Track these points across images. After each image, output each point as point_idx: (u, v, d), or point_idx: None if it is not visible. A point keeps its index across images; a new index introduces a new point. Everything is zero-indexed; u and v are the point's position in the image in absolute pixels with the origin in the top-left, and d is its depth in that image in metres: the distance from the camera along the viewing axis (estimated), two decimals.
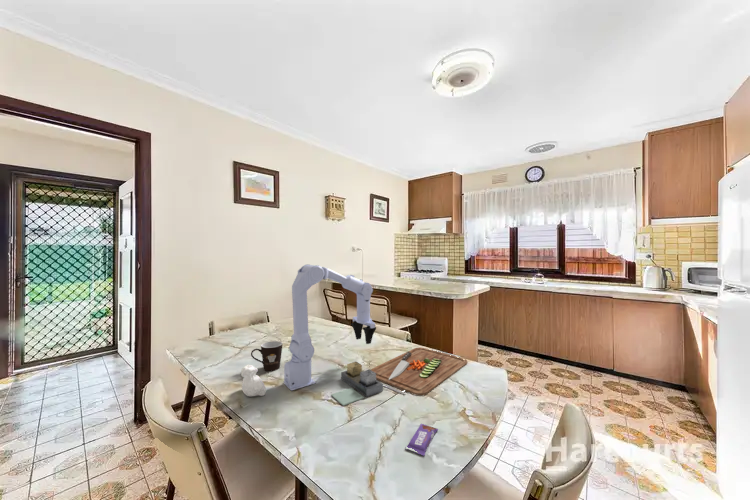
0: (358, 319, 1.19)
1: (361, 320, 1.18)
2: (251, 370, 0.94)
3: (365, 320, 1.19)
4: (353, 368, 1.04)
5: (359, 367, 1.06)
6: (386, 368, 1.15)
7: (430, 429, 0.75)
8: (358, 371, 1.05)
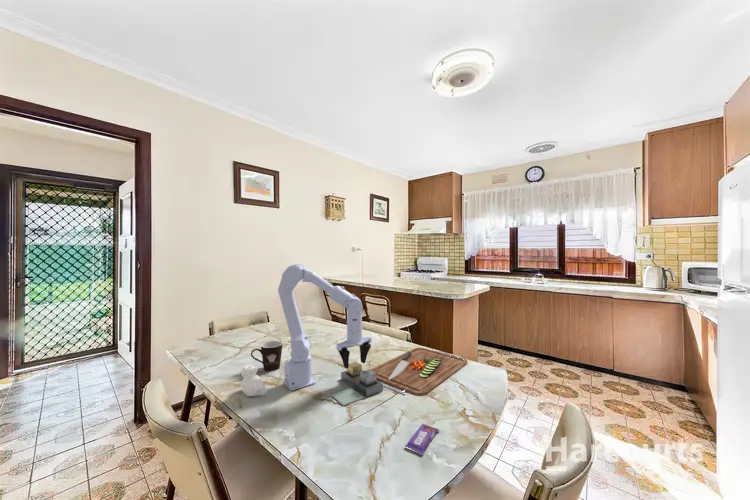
0: None
1: None
2: (251, 370, 0.94)
3: (347, 340, 1.06)
4: (353, 368, 1.04)
5: (359, 367, 1.06)
6: (386, 368, 1.15)
7: (431, 429, 0.75)
8: (358, 371, 1.05)
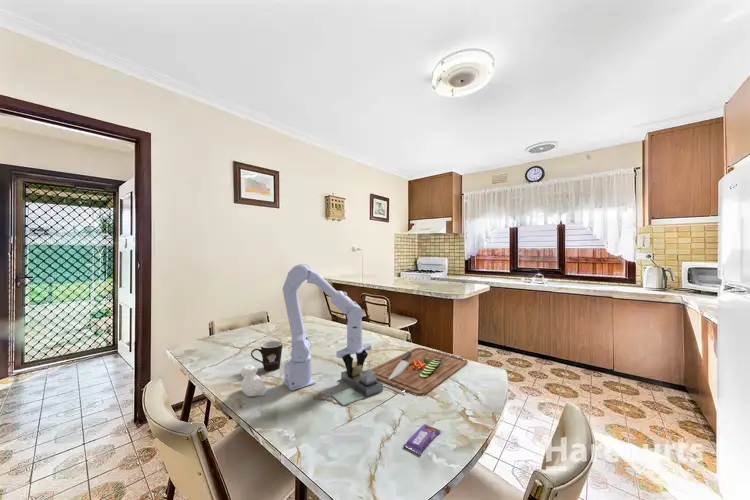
0: None
1: None
2: (251, 370, 0.94)
3: (347, 348, 1.06)
4: (353, 368, 1.04)
5: (359, 367, 1.06)
6: (386, 368, 1.15)
7: (432, 430, 0.75)
8: (358, 371, 1.05)
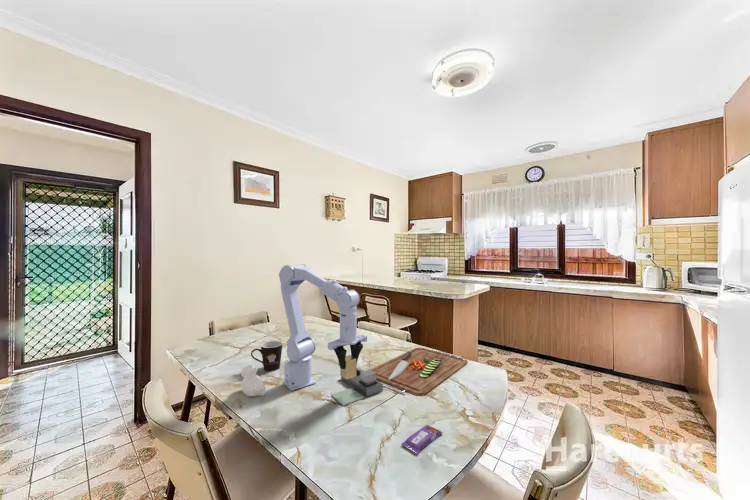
0: None
1: None
2: (251, 370, 0.94)
3: (339, 339, 0.94)
4: (346, 362, 0.93)
5: (353, 361, 0.94)
6: (386, 368, 1.15)
7: (433, 431, 0.74)
8: (352, 365, 0.94)
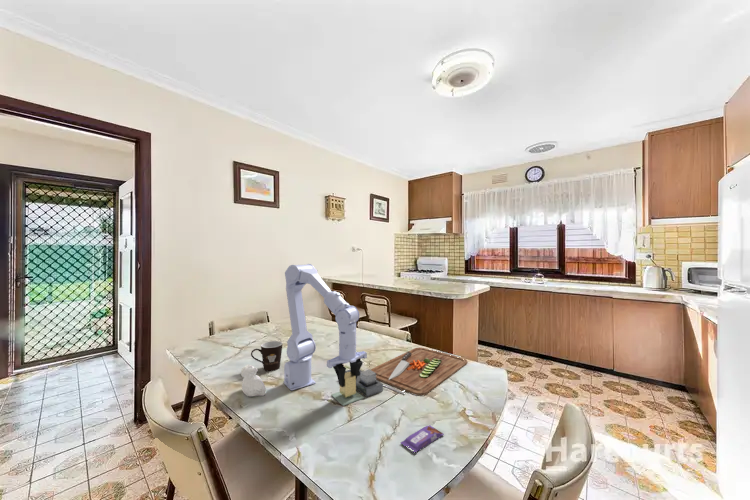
0: None
1: None
2: (251, 370, 0.94)
3: (339, 356, 0.93)
4: (346, 380, 0.92)
5: (353, 378, 0.93)
6: (386, 368, 1.15)
7: (433, 432, 0.74)
8: (351, 383, 0.93)
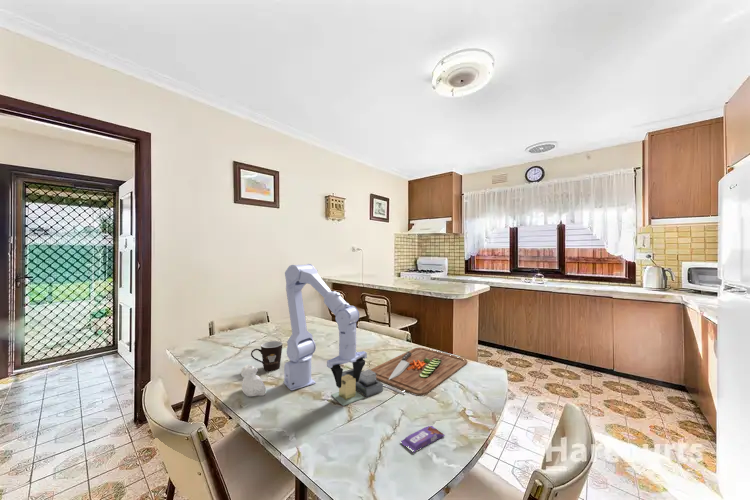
0: None
1: None
2: (251, 370, 0.94)
3: (339, 356, 0.93)
4: (346, 382, 0.92)
5: (353, 381, 0.93)
6: (386, 368, 1.15)
7: (434, 432, 0.74)
8: (351, 385, 0.93)
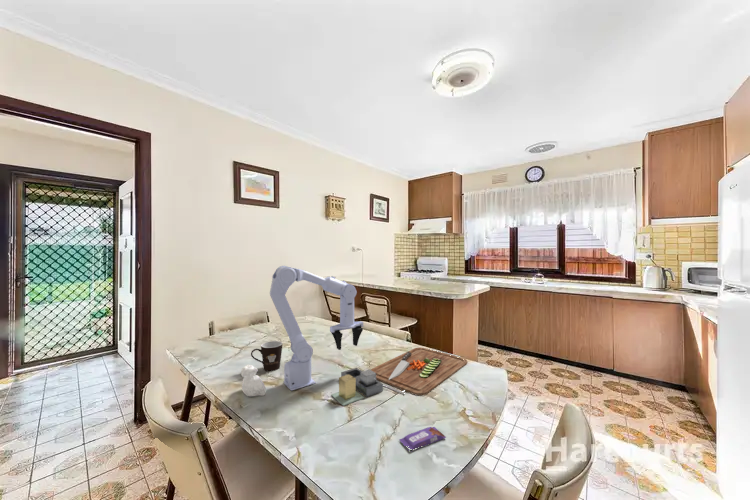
0: None
1: None
2: (251, 370, 0.94)
3: (340, 323, 1.12)
4: (346, 382, 0.92)
5: (353, 381, 0.93)
6: (386, 368, 1.15)
7: (435, 433, 0.73)
8: (351, 385, 0.93)
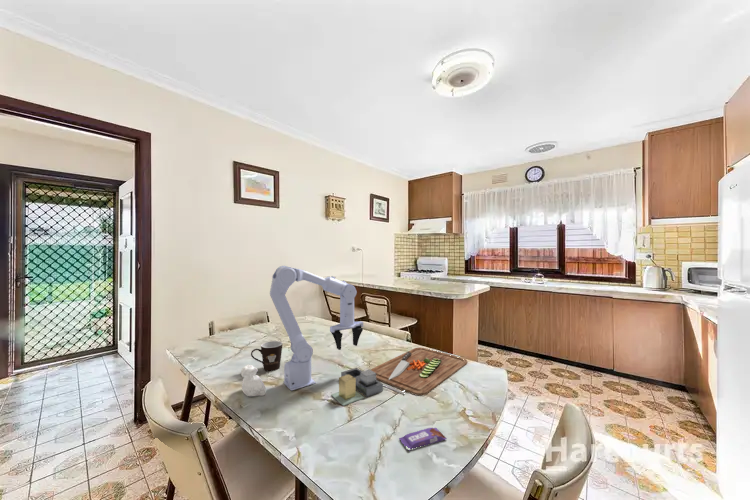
0: None
1: None
2: (251, 370, 0.94)
3: (340, 323, 1.12)
4: (346, 382, 0.92)
5: (353, 381, 0.93)
6: (386, 368, 1.15)
7: (435, 434, 0.73)
8: (351, 385, 0.93)
